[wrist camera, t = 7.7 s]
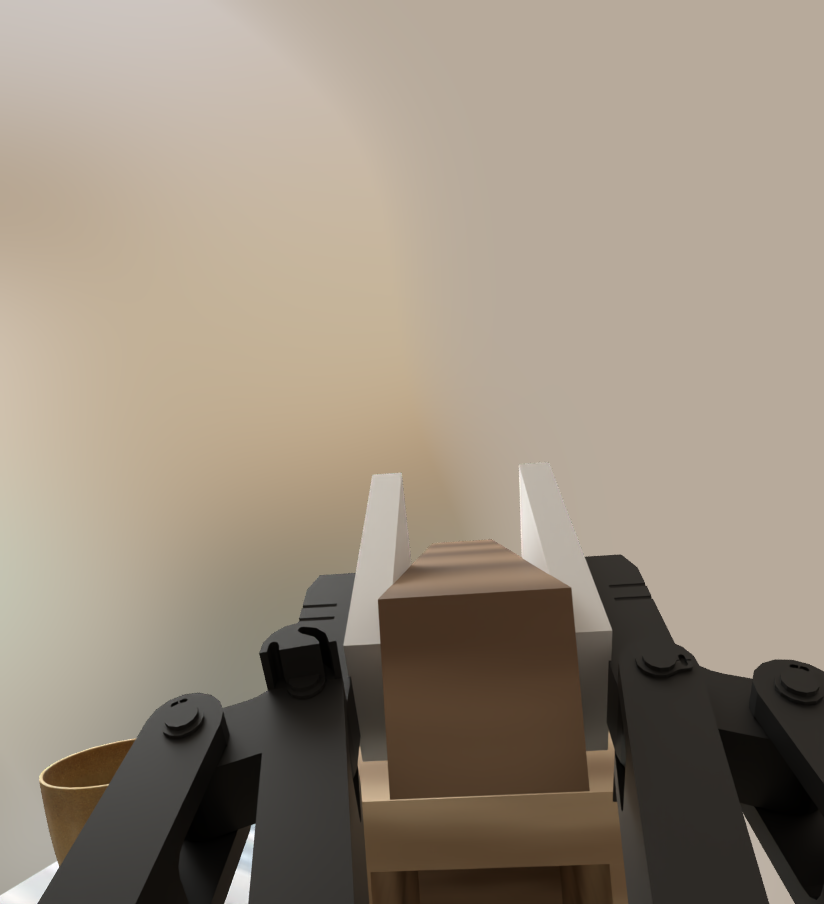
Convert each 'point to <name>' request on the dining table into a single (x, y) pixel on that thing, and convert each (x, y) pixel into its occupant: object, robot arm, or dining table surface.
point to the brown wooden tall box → (495, 844)
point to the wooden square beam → (480, 677)
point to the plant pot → (77, 790)
